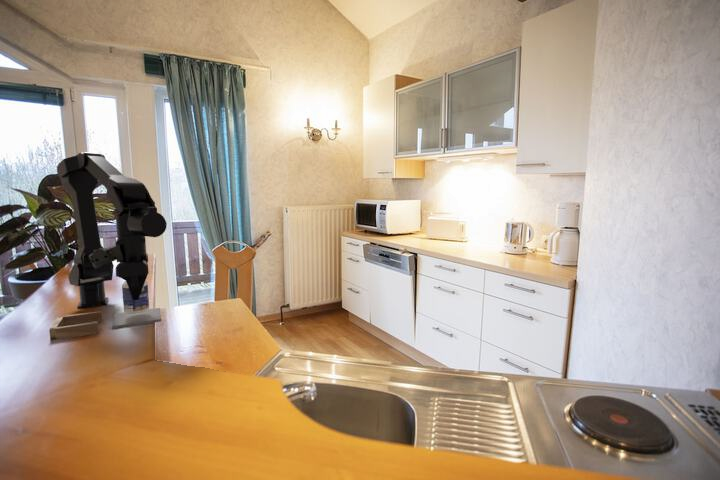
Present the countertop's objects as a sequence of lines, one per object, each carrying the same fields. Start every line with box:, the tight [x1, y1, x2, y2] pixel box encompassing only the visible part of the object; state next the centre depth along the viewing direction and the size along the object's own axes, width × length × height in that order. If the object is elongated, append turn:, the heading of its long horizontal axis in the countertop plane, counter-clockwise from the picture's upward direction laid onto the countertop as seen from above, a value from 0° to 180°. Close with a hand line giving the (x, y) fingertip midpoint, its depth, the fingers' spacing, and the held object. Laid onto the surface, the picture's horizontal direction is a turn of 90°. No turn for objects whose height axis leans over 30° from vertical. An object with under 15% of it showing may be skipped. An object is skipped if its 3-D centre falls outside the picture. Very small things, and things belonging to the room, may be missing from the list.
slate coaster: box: [111, 307, 162, 330], centre depth 91 cm, size 10×10×1 cm
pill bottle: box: [121, 279, 150, 314], centre depth 90 cm, size 5×5×10 cm
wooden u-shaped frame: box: [48, 310, 103, 342], centre depth 83 cm, size 9×8×2 cm
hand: (135, 297), depth 90 cm, fingers closed on pill bottle, 5 cm apart
